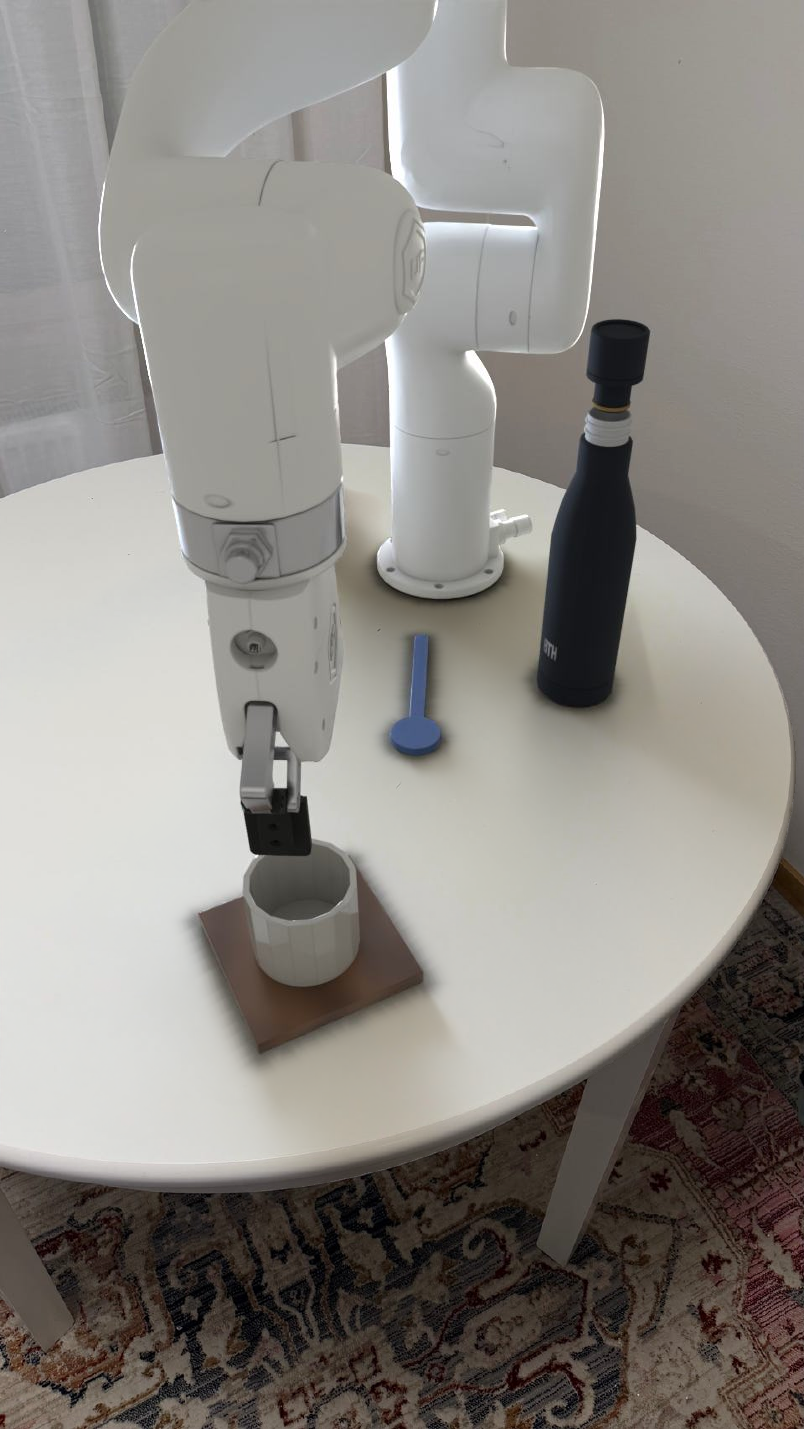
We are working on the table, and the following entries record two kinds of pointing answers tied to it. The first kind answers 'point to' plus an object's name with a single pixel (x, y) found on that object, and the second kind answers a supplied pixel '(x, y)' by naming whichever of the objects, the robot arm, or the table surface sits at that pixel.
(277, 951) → the pot
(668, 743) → the table surface
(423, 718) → the spoon
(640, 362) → the insulated water bottle
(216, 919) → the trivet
